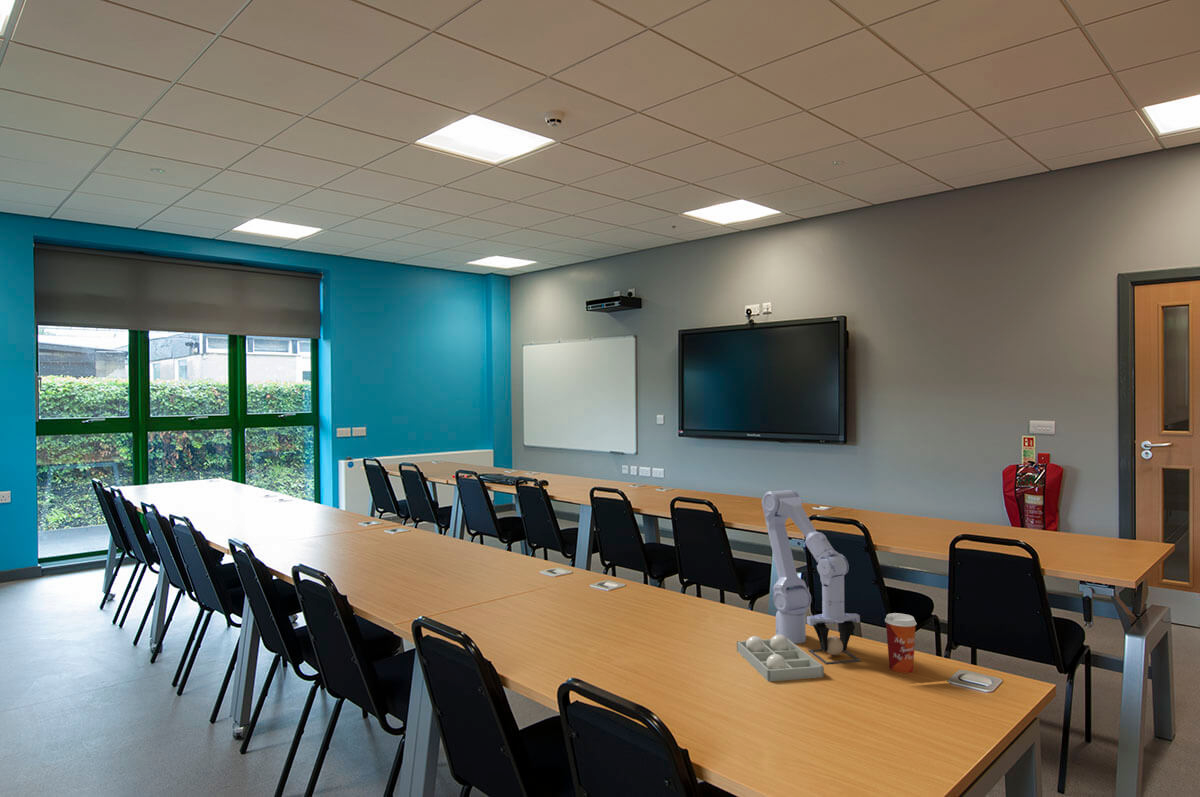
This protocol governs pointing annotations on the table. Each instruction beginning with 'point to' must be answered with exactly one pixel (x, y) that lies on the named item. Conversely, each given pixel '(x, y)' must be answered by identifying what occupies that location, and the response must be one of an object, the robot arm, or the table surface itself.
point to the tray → (796, 660)
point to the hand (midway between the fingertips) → (833, 649)
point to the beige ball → (834, 645)
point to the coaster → (835, 661)
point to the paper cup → (900, 641)
